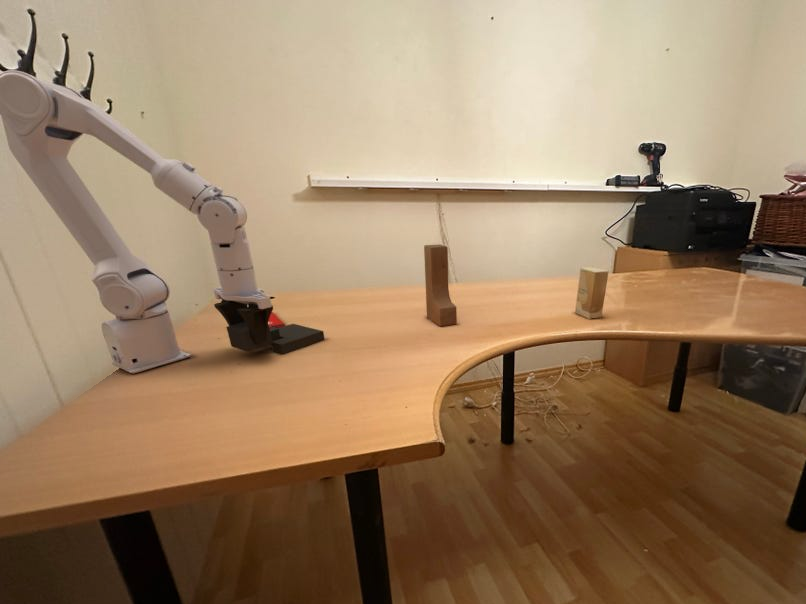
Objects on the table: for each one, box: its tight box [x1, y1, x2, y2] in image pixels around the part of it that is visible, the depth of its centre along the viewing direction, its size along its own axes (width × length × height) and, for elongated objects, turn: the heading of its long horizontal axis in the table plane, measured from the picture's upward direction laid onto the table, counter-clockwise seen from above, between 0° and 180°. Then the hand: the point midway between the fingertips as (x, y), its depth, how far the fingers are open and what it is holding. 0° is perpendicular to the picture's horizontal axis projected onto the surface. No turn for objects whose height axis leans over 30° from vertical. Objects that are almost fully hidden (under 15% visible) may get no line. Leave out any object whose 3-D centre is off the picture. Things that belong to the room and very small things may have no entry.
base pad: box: [270, 323, 325, 355], centre depth 84 cm, size 10×10×2 cm
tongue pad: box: [225, 322, 280, 353], centre depth 78 cm, size 8×6×4 cm
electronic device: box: [268, 311, 286, 328], centre depth 97 cm, size 6×1×15 cm
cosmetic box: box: [574, 266, 609, 320], centre depth 104 cm, size 6×4×12 cm
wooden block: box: [423, 244, 458, 327], centre depth 97 cm, size 9×4×18 cm, turn 28°
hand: (251, 339), depth 77 cm, fingers closed on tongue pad, 5 cm apart
